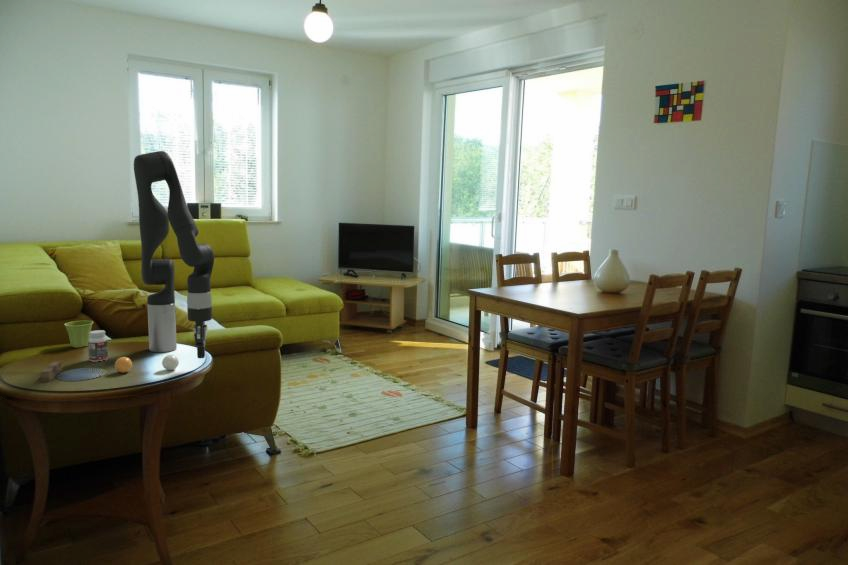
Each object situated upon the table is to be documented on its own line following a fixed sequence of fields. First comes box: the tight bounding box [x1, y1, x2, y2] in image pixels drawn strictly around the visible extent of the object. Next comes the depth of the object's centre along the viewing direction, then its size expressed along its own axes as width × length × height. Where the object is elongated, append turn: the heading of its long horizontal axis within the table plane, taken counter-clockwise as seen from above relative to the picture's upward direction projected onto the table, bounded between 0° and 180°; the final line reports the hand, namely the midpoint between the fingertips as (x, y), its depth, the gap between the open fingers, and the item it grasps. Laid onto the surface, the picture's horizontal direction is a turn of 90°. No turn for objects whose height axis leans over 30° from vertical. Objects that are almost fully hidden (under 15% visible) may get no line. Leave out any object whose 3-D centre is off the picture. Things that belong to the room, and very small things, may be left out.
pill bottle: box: [88, 329, 109, 363], centre depth 210 cm, size 6×6×10 cm
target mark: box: [55, 367, 108, 382], centre depth 194 cm, size 14×14×1 cm
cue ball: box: [161, 354, 180, 371], centre depth 201 cm, size 5×5×5 cm
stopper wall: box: [40, 360, 62, 383], centre depth 192 cm, size 12×2×3 cm, turn 15°
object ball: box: [114, 356, 133, 374], centre depth 197 cm, size 5×5×5 cm
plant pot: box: [64, 320, 94, 349], centre depth 228 cm, size 9×9×9 cm
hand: (201, 357), depth 202 cm, fingers closed
